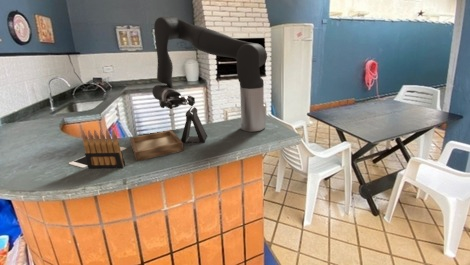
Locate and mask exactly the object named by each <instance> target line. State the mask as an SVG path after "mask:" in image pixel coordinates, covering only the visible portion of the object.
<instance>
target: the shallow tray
mask: <svg viewBox="0 0 470 265" xmlns="http://www.w3.org/2000/svg"><path fill="white" fill-rule="evenodd" d="M129 141H130V144H131V148H132V151H133V153H134V156H135V159H136V162H140V161H144V160H148V159H153V158H156V157H161V156H166V155H170V154H174V153H178V152H183V151H184V145H183V144H184V143H182V141H181V138H179V137H178V136H177V135H176V133H175V132H174V131H173V130H171V129H170V130H164V131H159V132H155V133H150V134H149V133H148V134H143V135H138V136H134V137H133V136H132V137H129Z"/></svg>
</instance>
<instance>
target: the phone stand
mask: <svg viewBox="0 0 470 265" xmlns="http://www.w3.org/2000/svg"><path fill="white" fill-rule="evenodd" d="M185 118H186V119H185V124H184V127H183V132H182V135H181V138H180V140H181V141H182V143H183V144H202V143H203V144H204V143H206V141H207V138H208V134H207V132H206V130H205V128H204V125H203V124H202V122H201V119H200V118H199V115H198V109H197V107H195V106H194V107H193V106H190V108H189V109H188V110H187V111H186V112H185ZM192 124H193V127H194V129H195V132H196V135H194V136H193V135H191V136H190V133H191V127H192Z"/></svg>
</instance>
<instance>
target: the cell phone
mask: <svg viewBox="0 0 470 265" xmlns="http://www.w3.org/2000/svg"><path fill="white" fill-rule="evenodd" d="M120 149H121V150H122V152H123V151H125V150H127V147H124V146H120ZM68 165H71V166H74V167H78V168H81V169H85V168H88V166H87V161H86V156H85V155H84V156H82V157H79V158H77V159H75V160H72V161H69V163H68Z"/></svg>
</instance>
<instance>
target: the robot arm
mask: <svg viewBox="0 0 470 265" xmlns="http://www.w3.org/2000/svg"><path fill="white" fill-rule="evenodd" d="M153 30H154V38H155V39H154V40H155V49H156V58H157V68H156V69H157V72H156V79H157V82H159V83H162V84H156V85H154V86H153V88H152V91H151V92H152V96H153V98H155V100H158V102H159V106H160V108H161V109H164V108H166V109H170V110H172V109H176V108H178V107H180V106H187V105H189V106H190V107H193V106H194V105H195V104H196V100H195V97H194V96H192V95H187V96H183V95H182V94H181V93H180V91H177V90H176V89H175V88H174V85H173V69H174V68H173V61H172V60H171V57H170V55H169V50H168V46H169V45H168V44H169V40H175V39H177V40H182V41H187V42H189V43H190V44H191V45H192V46H193V47H194V48H195V49H196V50H198V51H201V52H203V53H206V54H209V55H213V56H217V57H225V58H232V59H235V60H236V73H237V79H238V82H239V93H240V94H239V96H240V126H241V130H242V131H243V132H250V133H251V132H260V131H262V130H264V129H266V127H267V125H266V123H267V122H266V121H267V117H266V114H267V112H266V110H267V107H266V105H265V103H264V102H265V101H264V100H265V98H264V90H265V89H264V83H265V82H264V78H262V77H261V72H260V71H261V70H260V68H261V67H262V66H263V65H265V64H266V61H267V59H268V53H267V50H266V49H265V47H263V45H262V44H259V43H256V42H248V41H245V40H239V39H236V38H234V37H232V36H229V35H226V34H224V33H222V32H218V31H216V30H214V29H210V28H208V27H203V26H200V25H196V24H191V23H189V22H188V21H187V22H186V21H184V20H182V19H180V18H179V17H178V18H177V17H175V16H162V17H161V16H160V17H158V18H157V19H156V20H154V28H153Z"/></svg>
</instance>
